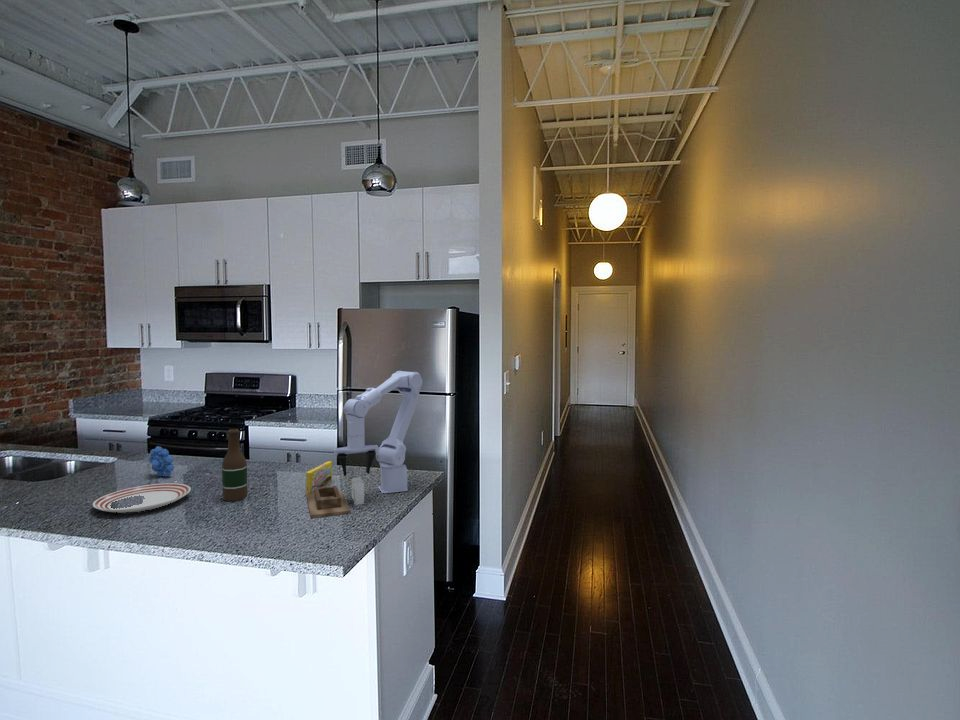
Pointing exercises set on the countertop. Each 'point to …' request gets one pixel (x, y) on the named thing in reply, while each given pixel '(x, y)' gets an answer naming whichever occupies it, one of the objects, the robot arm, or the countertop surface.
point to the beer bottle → (234, 470)
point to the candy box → (318, 477)
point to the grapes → (161, 461)
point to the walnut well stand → (327, 502)
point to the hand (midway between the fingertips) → (356, 473)
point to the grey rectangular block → (357, 491)
